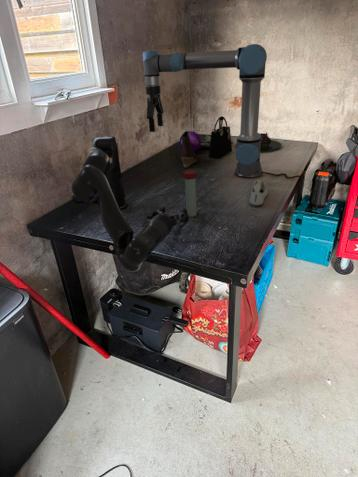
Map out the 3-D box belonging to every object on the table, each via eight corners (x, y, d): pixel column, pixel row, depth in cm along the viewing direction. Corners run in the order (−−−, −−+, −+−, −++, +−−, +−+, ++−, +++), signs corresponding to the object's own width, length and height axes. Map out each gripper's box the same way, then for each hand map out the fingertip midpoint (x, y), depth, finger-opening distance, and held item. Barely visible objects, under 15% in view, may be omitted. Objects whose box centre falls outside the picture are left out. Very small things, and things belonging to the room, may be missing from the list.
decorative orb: (204, 151, 235) (204, 129, 228) (194, 156, 225) (193, 134, 217) (186, 149, 243) (186, 128, 235) (175, 154, 232) (174, 132, 224)
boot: (199, 157, 223) (198, 126, 213) (193, 168, 203) (192, 135, 193) (186, 157, 225) (185, 126, 215) (179, 168, 205) (177, 135, 195)
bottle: (185, 213, 149) (183, 172, 140) (195, 211, 150) (193, 170, 140) (188, 217, 145) (186, 175, 136) (197, 215, 146) (196, 174, 137)
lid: (182, 176, 141) (182, 170, 140) (194, 174, 142) (194, 169, 140) (185, 180, 136) (185, 174, 135) (197, 178, 137) (197, 173, 136)
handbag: (220, 159, 217) (220, 119, 204) (207, 157, 221) (207, 119, 208) (232, 151, 231) (233, 113, 219) (221, 150, 236) (221, 113, 223)
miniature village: (250, 138, 260) (251, 126, 256) (289, 145, 237) (291, 132, 233) (223, 147, 242) (223, 134, 237) (263, 155, 219) (264, 141, 215)
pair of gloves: (198, 151, 236) (198, 144, 233) (184, 143, 256) (183, 137, 254) (234, 145, 246) (235, 137, 243) (218, 138, 266) (218, 131, 263)
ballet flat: (269, 188, 169) (270, 173, 165) (265, 208, 149) (266, 191, 145) (252, 187, 171) (253, 172, 167) (246, 206, 151) (247, 190, 147)
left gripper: (139, 236, 114) (158, 217, 127) (178, 241, 109) (193, 220, 123) (137, 217, 111) (156, 199, 124) (176, 221, 106) (192, 202, 119)
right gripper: (153, 83, 178) (157, 124, 189) (137, 88, 157) (141, 134, 168) (167, 82, 176) (169, 123, 187) (151, 88, 156) (155, 134, 166)
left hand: (174, 210), depth 123 cm, fingers open, 8 cm apart
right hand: (156, 128), depth 177 cm, fingers open, 13 cm apart
